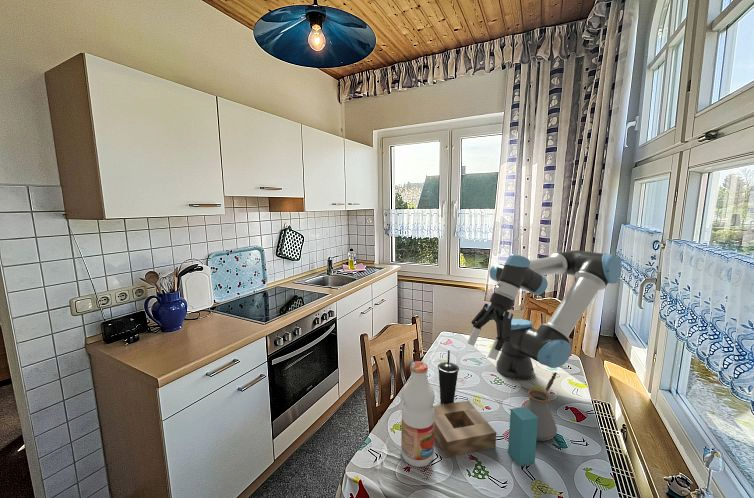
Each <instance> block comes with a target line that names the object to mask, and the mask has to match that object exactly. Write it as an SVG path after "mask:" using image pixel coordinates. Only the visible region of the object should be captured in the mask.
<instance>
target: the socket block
mask: <svg viewBox="0 0 754 498" xmlns="http://www.w3.org/2000/svg"><path fill="white" fill-rule="evenodd" d="M433 407H434V414H435V420H434V439H435V440H436V441H437V443H438V445H439V447H440V448H441V450H442V451H443V454H444V455H445V456H446V458H451V457H456V456H462V455H466V454H471V453H475V452H476V453H477V452H481V451H485V450H491V449H495V448H496V446H497V445H496V444H497V443H496V442H497V431H496V430H495V429H494V428H493V427H492V426H491V425H490V424H489V421H487V419H485V418H484V417H483V415H482V414H481V413H480V412H479V410H478V409H477V408H476V407H475V406H474V405H473V404H472V403H471V401H470V400H462V401H457V402H454V403H449V404H437V405H433ZM460 425H462V426H460ZM455 426H460V427H456V428H455Z"/></svg>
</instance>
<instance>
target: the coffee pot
mask: <svg viewBox="0 0 754 498" xmlns="http://www.w3.org/2000/svg"><path fill="white" fill-rule="evenodd" d="M557 375H558V378H560V374H558V373H557V372H555V371H554V372H553V373H552V375H551V377H550V379H549V380H548V383H547V385H546V387H545V390H544V391H542V390H540V389H530V390H528V391H527V396H528V398H529V399H528V400H527V402H526V403H525V405H524V406H523V407H525V406H526V407H527V408H528V409H529V410H530V411H531V412H532V413H534V414H535V415H536V416H537V417H538V425H537V438H536V441H540V442H545V441H548V440H551V439H553V438H554V437H555V436H556V435H557V432H558V428H557V425H556V422H555V419H554V417H553V414H552V412H551V409H550V407H549V403H551V402H552V400H551V396H550V395H549V394H548V392H549V390H550V389H551V387H552V386H553V384H554V381H555V380H556V378H557Z"/></svg>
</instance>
